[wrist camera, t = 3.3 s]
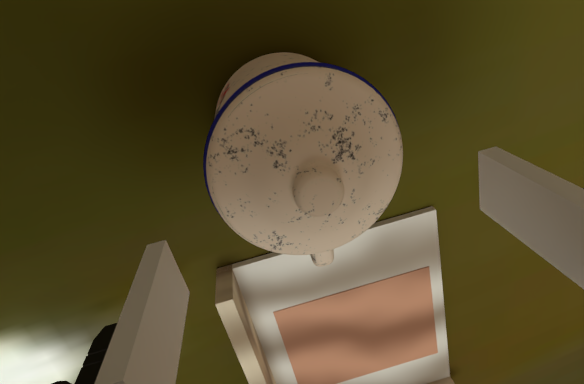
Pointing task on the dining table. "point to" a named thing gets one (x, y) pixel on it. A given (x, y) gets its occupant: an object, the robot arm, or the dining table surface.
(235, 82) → the teacup with lid
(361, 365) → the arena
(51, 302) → the dining table surface
